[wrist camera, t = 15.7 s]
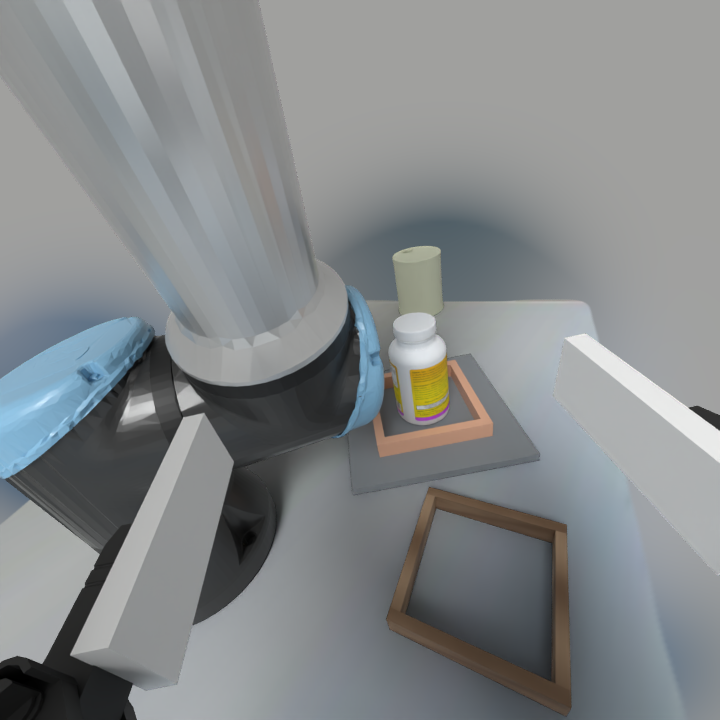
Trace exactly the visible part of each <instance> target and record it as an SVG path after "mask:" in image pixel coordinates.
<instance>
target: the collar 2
mask: <svg viewBox="0 0 720 720" xmlns="http://www.w3.org/2000/svg"><path fill="white" fill-rule="evenodd" d="M436 508H437V509H440V510H444V511H447V512H450V513H454V514H457V515H460V516H464V517H467V518H470V519H474V520H477V521H480V522H484V523H487V524H490V525H494V526H497V527H500V528H504V529H507V530H510V531H514V532H517V533H520V534H524V535H527V536H530V537H533V538H537V539H540V540H543V541H547V542H550V543H552V655H551V681H549V680H547V679H544V678H542V677H540V676H538V675H536V674H534V673H532V672H529V671H527V670H525V669H523V668H521V667H519V666H516V665H514V664H512V663H510V662H508V661H506V660H503V659H501V658H499V657H497V656H495V655H493V654H490V653H488V652H486V651H484V650H482V649H480V648H477V647H475V646H473V645H471V644H469V643H467V642H464V641H462V640H460V639H458V638H456V637H454V636H451V635H449V634H447V633H445V632H443V631H441V630H439V629H436V628H434V627H432V626H430V625H428V624H426V623H423V622H421V621H419V620H417V619H415V618H413V617H410V616H408V615H406V610H407V607H408V604H409V600H410V597H411V593H412V590H413V586H414V583H415V579H416V576H417V572H418V569H419V566H420V562H421V559H422V555H423V552H424V548H425V545H426V541H427V538H428V535H429V531H430V528H431V524H432V521H433V517H434V514H435V510H436ZM386 620H387V623H388V626H389V629H390V630H392V631H394V632H396V633H398V634H400V635H402V636H404V637H406V638H408V639H410V640H412V641H414V642H416V643H418V644H420V645H423V646H425V647H427V648H429V649H431V650H433V651H435V652H437V653H439V654H441V655H443V656H445V657H447V658H449V659H451V660H453V661H455V662H457V663H459V664H461V665H463V666H465V667H467V668H469V669H471V670H473V671H475V672H477V673H479V674H481V675H483V676H485V677H487V678H489V679H491V680H493V681H495V682H497V683H499V684H501V685H503V686H505V687H507V688H509V689H511V690H514V691H516V692H518V693H520V694H522V695H524V696H526V697H528V698H530V699H532V700H534V701H536V702H538V703H540V704H542V705H544V706H546V707H548V708H550V709H552V710H554V711H556V712H558V713H560V714H562V715H564V716H567V714H568V713H569V711H570V710H571V669H570V631H569V592H568V554H567V525H566V524H562V523H559V522H555V521H552V520H548V519H544V518H541V517H537V516H533V515H530V514H526V513H522V512H519V511H515V510H511V509H508V508H504V507H500V506H497V505H493V504H489V503H486V502H482V501H479V500H475V499H471V498H468V497H464V496H460V495H457V494H453V493H449V492H446V491H442V490H438V489H435V488H431V487H429V488H428V492H427V495H426V498H425V501H424V504H423V507H422V510H421V513H420V516H419V519H418V522H417V525H416V529H415V532H414V535H413V538H412V541H411V544H410V547H409V550H408V553H407V556H406V559H405V563H404V566H403V569H402V572H401V575H400V578H399V581H398V584H397V587H396V590H395V593H394V596H393V600H392V603H391V606H390V609H389V612H388V615H387V618H386Z"/></svg>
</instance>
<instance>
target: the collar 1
mask: <svg viewBox="0 0 720 720" xmlns="http://www.w3.org/2000/svg"><path fill="white" fill-rule="evenodd" d="M447 368H448V377H449V376H451V377H452V379H453V381H454V383H455V385H456V387H457V389H458V390H459V392H460V394H461V396H462V398H463V400H464V402H465V403H466V405H467V407H468V409H469V411H470V413H471V415H472V416H473V418H474V420H471V421H466V422H461V423H456V424H451V425H445V426H440V427H435V428H430V429H425V430H419V431H414V432H409V433H404V434H399V435H393V436H388V437H385V436H384V431H383V426H382V421H381V416H380V411H379V413H378V414H377V416H376V417H375V418H374V419H373V424H374V430H375V436H376V442H377V447H378V452H379V456H380V457H384V456H390V455H395V454H400V453H405V452H411V451H416V450H421V449H426V448H432V447H437V446H442V445H447V444H453V443H458V442H463V441H468V440H473V439H479V438H484V437H489V436H493V422H492V420H491V419H490V417H489V415H488V414H487V412H486V410H485V409H484V407H483V405H482V404H481V402H480V400H479V399H478V397H477V395H476V394H475V392H474V390H473V389H472V387H471V385H470V384H469V382H468V380H467V379H466V377H465V375H464V374H463V372H462V370H461V369H460V367H459V365H458V364H457V362H456V360H451V361H447ZM393 387H394V385H393V379H392V373H391V372H390V373H385V374H384V389H388V388H393Z"/></svg>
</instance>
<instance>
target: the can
mask: <svg viewBox="0 0 720 720" xmlns="http://www.w3.org/2000/svg"><path fill="white" fill-rule="evenodd" d="M440 255H441V250H440V249H439V248H437V247H432V246H418V247H412V248H408V249H404V250H401V251H400V252H397V253H396V254H394V255H393V258H392V259H393V263H394V270H395V277H396V285H397V293H398V301H399V313H400V314H401V315H405V314H409V313H417V312H420V313H427V314H430V315H432V316H434V315H436V314H438V313H439V312H441V311H442V309H443V307H444V304H443V299H442V281H441V256H440Z"/></svg>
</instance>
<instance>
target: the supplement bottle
mask: <svg viewBox="0 0 720 720" xmlns="http://www.w3.org/2000/svg"><path fill="white" fill-rule="evenodd" d="M435 332H436V320H435V318H434V317H433V316H432V315H430V314H427V313H420V312H417V313H409V314H405V315H402V316H400V317H398V318H397V319H396V320H395V321H394V322H393V334H394V336H395V339H394V340H393V341H392V343H391V344H390V346H389V350H388V355H389V361H390V367H391V373H392V379H393V385H394V392H395V398H396V404H397V409H398V412H399V414H400V416H401V417H402V418H403V419H404V420H406V421H407V422H409V423H412V424H415V425H430V424H434V423H436V422H438V421H440V420H442V419H443V418H444V417H445V416H446V415H447V413H448V411H449V387H448V368H447V349H446V344H445V342H444V340H443V339H442V338H441V337H440V336H439V335H437V334H435Z"/></svg>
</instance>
